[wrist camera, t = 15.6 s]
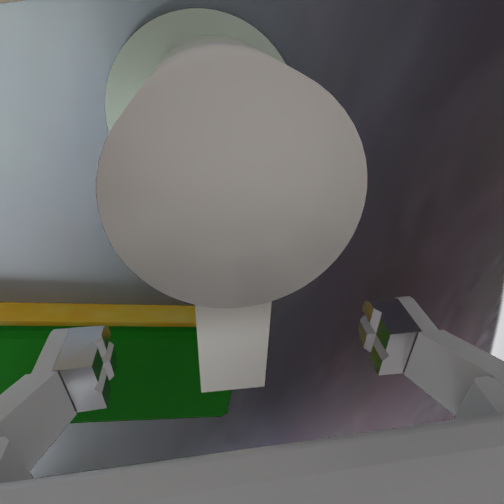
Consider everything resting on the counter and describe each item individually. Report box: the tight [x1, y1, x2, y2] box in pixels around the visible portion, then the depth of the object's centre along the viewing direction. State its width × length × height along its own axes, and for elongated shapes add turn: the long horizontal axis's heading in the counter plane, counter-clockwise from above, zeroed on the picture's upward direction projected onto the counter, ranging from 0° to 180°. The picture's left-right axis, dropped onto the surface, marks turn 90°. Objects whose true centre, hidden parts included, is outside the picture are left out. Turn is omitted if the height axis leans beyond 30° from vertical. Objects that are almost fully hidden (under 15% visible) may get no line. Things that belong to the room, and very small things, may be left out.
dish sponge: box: [0, 302, 231, 423], centre depth 19 cm, size 7×14×2 cm, turn 81°
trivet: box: [105, 8, 285, 133], centre depth 13 cm, size 7×7×1 cm
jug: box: [96, 34, 367, 393], centre depth 11 cm, size 9×5×8 cm, turn 178°
